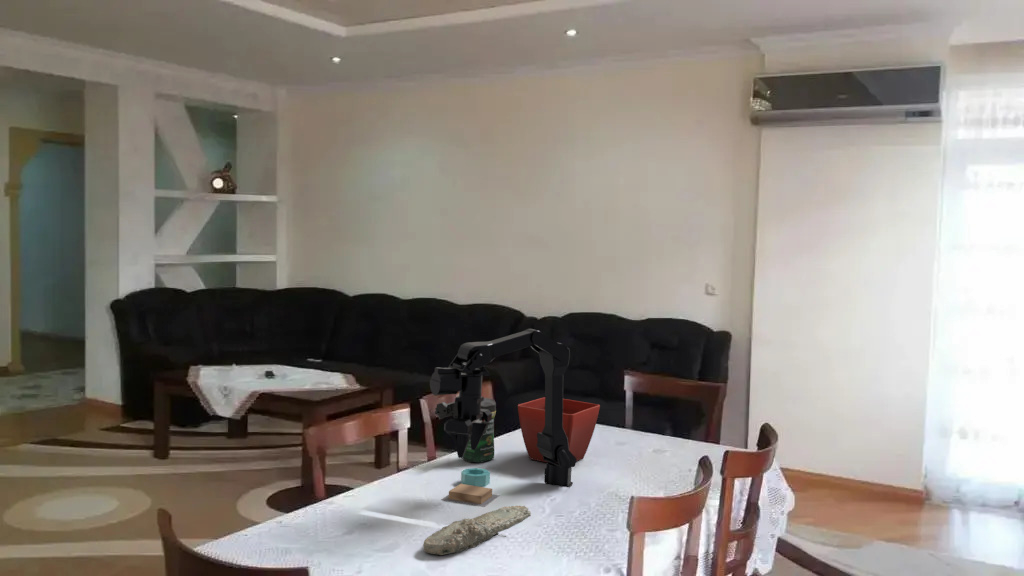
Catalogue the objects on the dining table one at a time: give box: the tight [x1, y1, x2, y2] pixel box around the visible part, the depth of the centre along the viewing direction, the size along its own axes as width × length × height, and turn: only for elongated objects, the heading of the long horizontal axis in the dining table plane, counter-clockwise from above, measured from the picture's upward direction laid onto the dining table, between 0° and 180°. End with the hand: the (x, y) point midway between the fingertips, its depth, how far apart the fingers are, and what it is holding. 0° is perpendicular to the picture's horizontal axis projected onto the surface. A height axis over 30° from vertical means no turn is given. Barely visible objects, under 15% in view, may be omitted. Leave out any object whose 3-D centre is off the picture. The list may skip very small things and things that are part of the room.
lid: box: [448, 483, 493, 504], centre depth 218 cm, size 9×7×2 cm
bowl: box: [460, 467, 491, 488], centre depth 230 cm, size 7×7×4 cm
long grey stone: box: [422, 505, 532, 556], centre depth 195 cm, size 35×5×10 cm
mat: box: [440, 493, 500, 508], centre depth 218 cm, size 12×10×1 cm
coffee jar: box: [462, 397, 497, 463], centre depth 257 cm, size 10×8×19 cm
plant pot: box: [517, 396, 601, 464], centre depth 260 cm, size 19×19×17 cm
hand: (467, 453), depth 218 cm, fingers open, 9 cm apart
